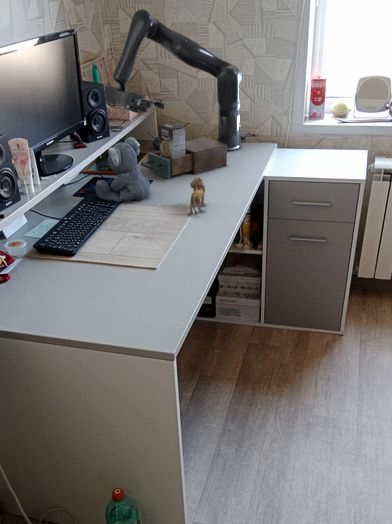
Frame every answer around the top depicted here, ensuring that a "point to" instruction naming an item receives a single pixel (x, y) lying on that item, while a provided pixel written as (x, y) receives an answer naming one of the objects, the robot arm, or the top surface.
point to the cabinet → (206, 154)
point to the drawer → (163, 164)
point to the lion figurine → (197, 194)
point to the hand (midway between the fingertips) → (154, 107)
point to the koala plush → (124, 174)
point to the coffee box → (171, 140)
